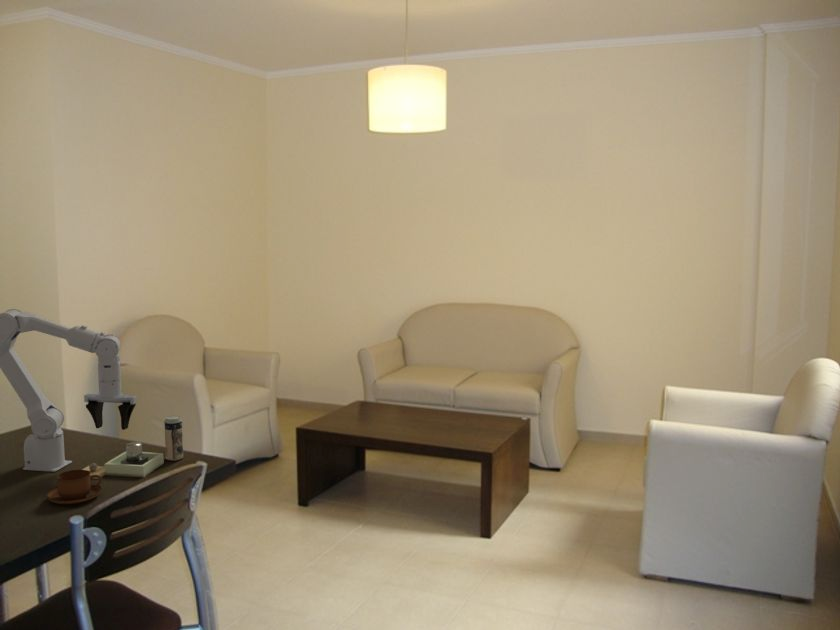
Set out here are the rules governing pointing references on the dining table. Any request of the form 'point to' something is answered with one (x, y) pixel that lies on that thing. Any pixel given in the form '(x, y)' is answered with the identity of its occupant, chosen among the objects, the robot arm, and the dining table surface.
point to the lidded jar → (173, 438)
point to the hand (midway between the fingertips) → (112, 428)
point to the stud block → (95, 470)
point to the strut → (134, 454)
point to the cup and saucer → (74, 487)
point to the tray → (143, 470)
